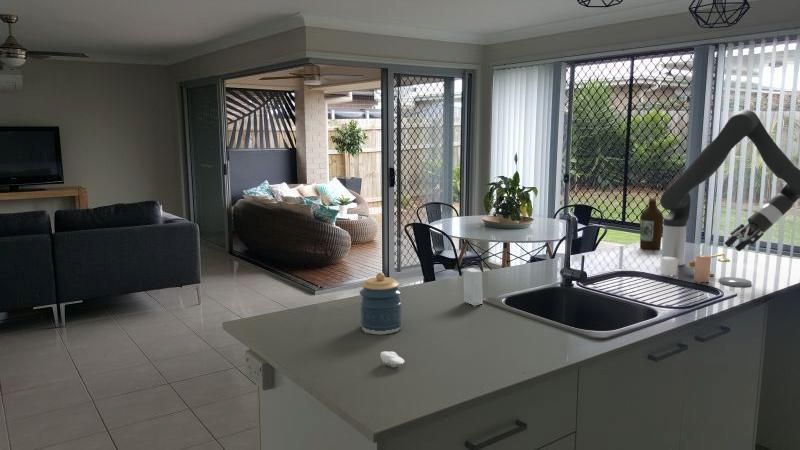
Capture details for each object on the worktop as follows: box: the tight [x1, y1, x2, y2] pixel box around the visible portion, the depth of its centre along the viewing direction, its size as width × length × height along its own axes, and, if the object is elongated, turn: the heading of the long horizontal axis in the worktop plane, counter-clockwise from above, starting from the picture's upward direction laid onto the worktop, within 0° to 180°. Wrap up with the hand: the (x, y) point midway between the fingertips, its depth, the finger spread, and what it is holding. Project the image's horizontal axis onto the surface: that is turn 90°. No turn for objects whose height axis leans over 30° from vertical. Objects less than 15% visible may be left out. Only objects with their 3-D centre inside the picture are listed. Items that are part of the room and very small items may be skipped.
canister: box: [359, 272, 403, 331], centre depth 180 cm, size 13×13×18 cm
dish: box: [718, 276, 752, 288], centre depth 228 cm, size 11×11×1 cm
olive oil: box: [639, 197, 664, 251], centre depth 295 cm, size 11×11×25 cm
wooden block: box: [693, 254, 712, 283], centre depth 231 cm, size 5×5×10 cm
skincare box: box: [462, 267, 484, 305], centre depth 205 cm, size 6×4×12 cm
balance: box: [685, 252, 731, 277], centre depth 241 cm, size 5×16×9 cm, turn 78°
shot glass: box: [659, 256, 679, 276], centre depth 243 cm, size 7×7×7 cm
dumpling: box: [380, 351, 405, 365], centre depth 152 cm, size 7×5×4 cm
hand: (731, 247), depth 229 cm, fingers open, 8 cm apart
